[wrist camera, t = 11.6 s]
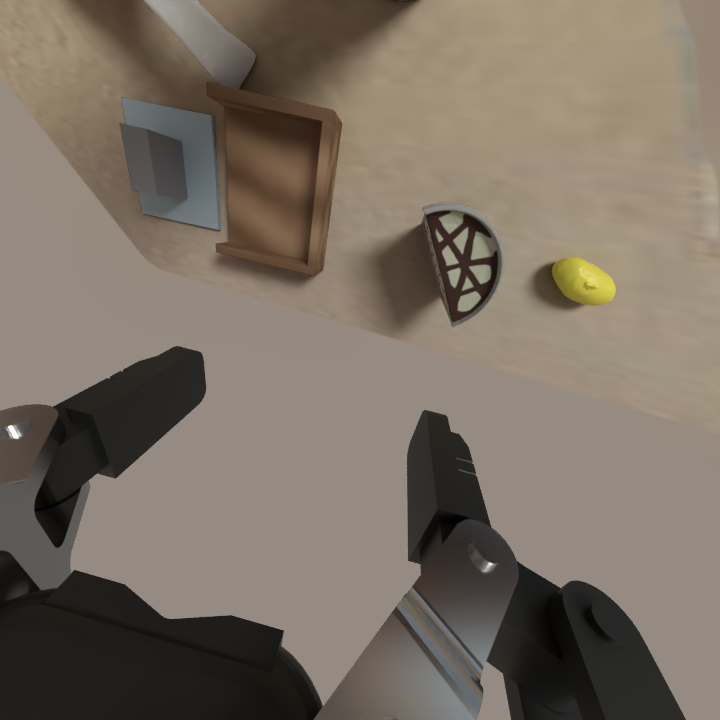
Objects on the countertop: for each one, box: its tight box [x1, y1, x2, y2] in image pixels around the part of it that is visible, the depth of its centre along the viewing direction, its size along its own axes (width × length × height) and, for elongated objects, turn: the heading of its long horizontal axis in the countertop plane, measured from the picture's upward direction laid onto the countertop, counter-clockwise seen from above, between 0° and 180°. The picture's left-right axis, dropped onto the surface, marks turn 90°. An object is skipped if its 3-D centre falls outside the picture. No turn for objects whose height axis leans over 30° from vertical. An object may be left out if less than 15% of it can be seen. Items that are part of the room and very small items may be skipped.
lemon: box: [552, 258, 616, 305], centre depth 32 cm, size 4×8×4 cm, turn 55°
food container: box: [422, 203, 504, 327], centre depth 29 cm, size 12×6×10 cm, turn 21°
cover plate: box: [120, 97, 221, 230], centre depth 32 cm, size 12×11×6 cm
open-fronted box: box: [207, 82, 342, 276], centre depth 32 cm, size 16×13×4 cm
